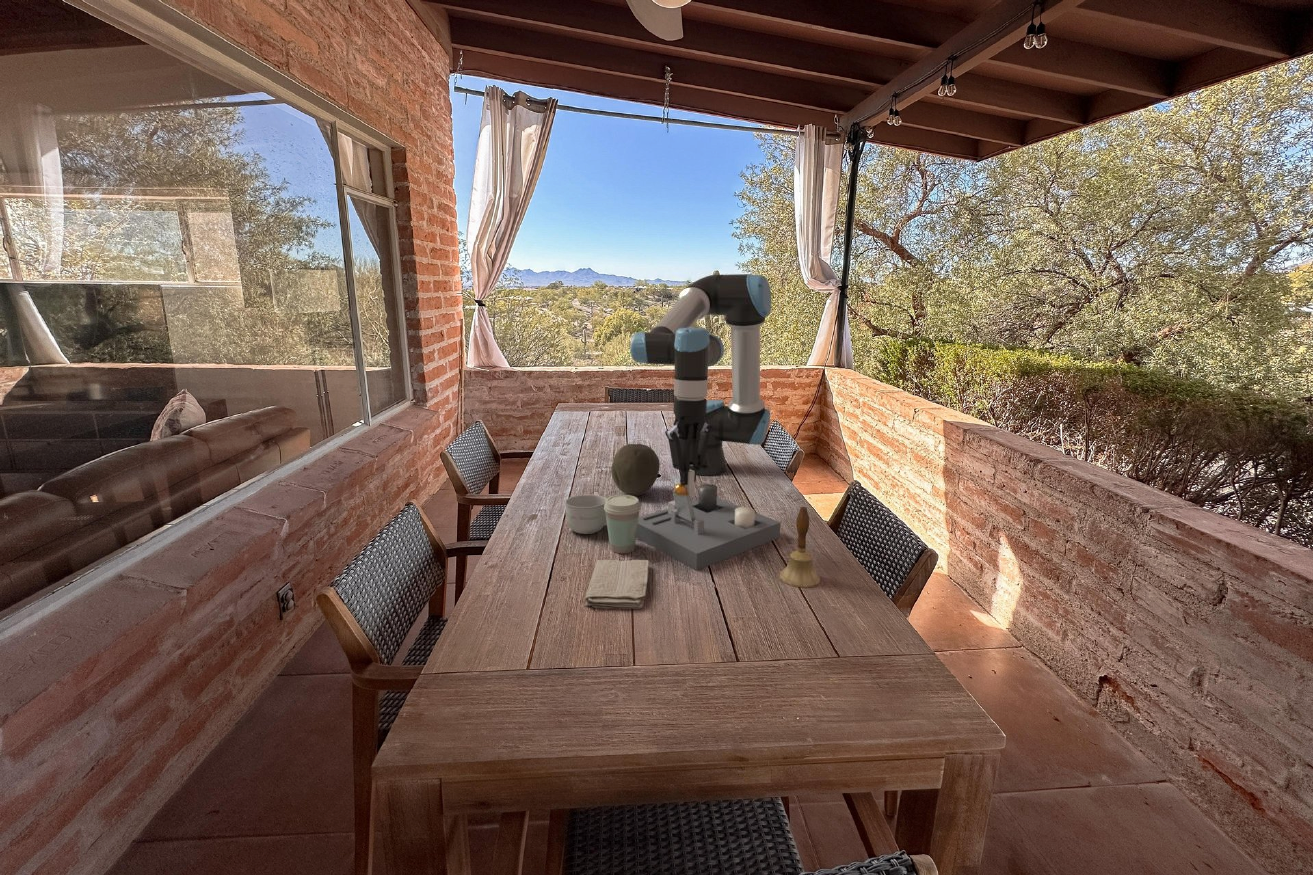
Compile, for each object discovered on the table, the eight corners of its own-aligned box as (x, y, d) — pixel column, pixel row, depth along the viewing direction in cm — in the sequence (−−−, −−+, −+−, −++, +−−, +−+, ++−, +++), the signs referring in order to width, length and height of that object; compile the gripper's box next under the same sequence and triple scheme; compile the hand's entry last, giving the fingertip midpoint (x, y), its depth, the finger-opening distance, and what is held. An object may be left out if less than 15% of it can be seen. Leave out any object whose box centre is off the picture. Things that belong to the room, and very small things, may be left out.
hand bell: (791, 590, 118) (796, 517, 114) (772, 571, 126) (777, 502, 122) (827, 585, 120) (834, 513, 116) (807, 567, 128) (812, 499, 124)
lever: (683, 514, 142) (674, 478, 137) (701, 522, 137) (692, 485, 132) (674, 520, 140) (665, 483, 136) (692, 528, 135) (683, 491, 131)
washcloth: (583, 611, 110) (583, 596, 110) (595, 567, 128) (595, 554, 127) (646, 612, 110) (646, 597, 110) (649, 568, 128) (649, 555, 127)
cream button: (743, 526, 146) (744, 505, 144) (757, 532, 142) (759, 511, 141) (730, 531, 143) (730, 510, 141) (744, 537, 139) (745, 515, 138)
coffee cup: (636, 557, 131) (636, 508, 128) (599, 554, 133) (599, 505, 130) (644, 542, 140) (644, 495, 137) (610, 538, 141) (609, 492, 138)
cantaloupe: (658, 502, 166) (659, 451, 162) (609, 501, 166) (608, 451, 162) (659, 485, 179) (660, 439, 176) (614, 485, 180) (613, 438, 176)
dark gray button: (707, 502, 155) (708, 482, 153) (720, 507, 151) (721, 487, 150) (694, 506, 152) (695, 486, 150) (707, 512, 148) (707, 491, 147)
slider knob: (675, 511, 148) (675, 500, 147) (681, 514, 146) (681, 502, 146) (668, 513, 147) (668, 502, 146) (674, 516, 145) (674, 505, 144)
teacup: (556, 532, 145) (555, 502, 143) (582, 518, 154) (581, 489, 152) (604, 544, 138) (603, 513, 136) (627, 528, 148) (627, 498, 146)
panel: (711, 509, 161) (712, 485, 159) (779, 537, 143) (781, 510, 141) (630, 534, 144) (630, 508, 142) (696, 570, 126) (697, 540, 124)
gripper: (699, 392, 138) (696, 487, 143) (657, 398, 130) (656, 497, 135) (722, 397, 132) (718, 495, 137) (679, 402, 124) (677, 506, 129)
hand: (687, 496), depth 136 cm, fingers closed
